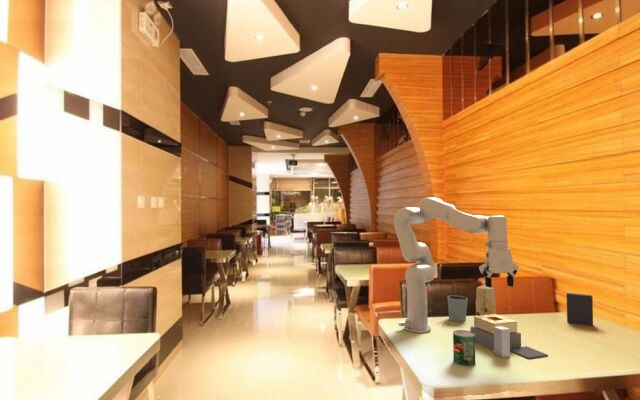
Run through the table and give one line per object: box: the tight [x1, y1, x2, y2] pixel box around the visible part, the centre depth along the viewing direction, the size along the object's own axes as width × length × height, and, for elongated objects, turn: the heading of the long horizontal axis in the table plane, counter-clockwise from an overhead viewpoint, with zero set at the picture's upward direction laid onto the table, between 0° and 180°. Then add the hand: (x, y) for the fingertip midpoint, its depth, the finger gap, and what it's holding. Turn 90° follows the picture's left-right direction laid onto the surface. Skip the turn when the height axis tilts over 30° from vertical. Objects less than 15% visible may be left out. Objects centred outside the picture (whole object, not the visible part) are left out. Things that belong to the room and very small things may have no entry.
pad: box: [510, 345, 549, 360], centre depth 151 cm, size 10×10×1 cm
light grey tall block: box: [493, 326, 511, 359], centre depth 149 cm, size 4×4×11 cm
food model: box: [475, 285, 497, 316], centre depth 188 cm, size 10×7×20 cm
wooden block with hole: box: [473, 313, 518, 334], centre depth 163 cm, size 14×12×4 cm
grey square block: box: [470, 325, 522, 352], centre depth 163 cm, size 14×14×6 cm
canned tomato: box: [452, 329, 477, 368], centre depth 142 cm, size 8×8×11 cm
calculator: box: [566, 292, 594, 327], centre depth 194 cm, size 11×4×15 cm, turn 58°
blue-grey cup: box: [447, 294, 469, 323], centre depth 200 cm, size 10×10×12 cm
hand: (499, 286), depth 155 cm, fingers open, 9 cm apart
